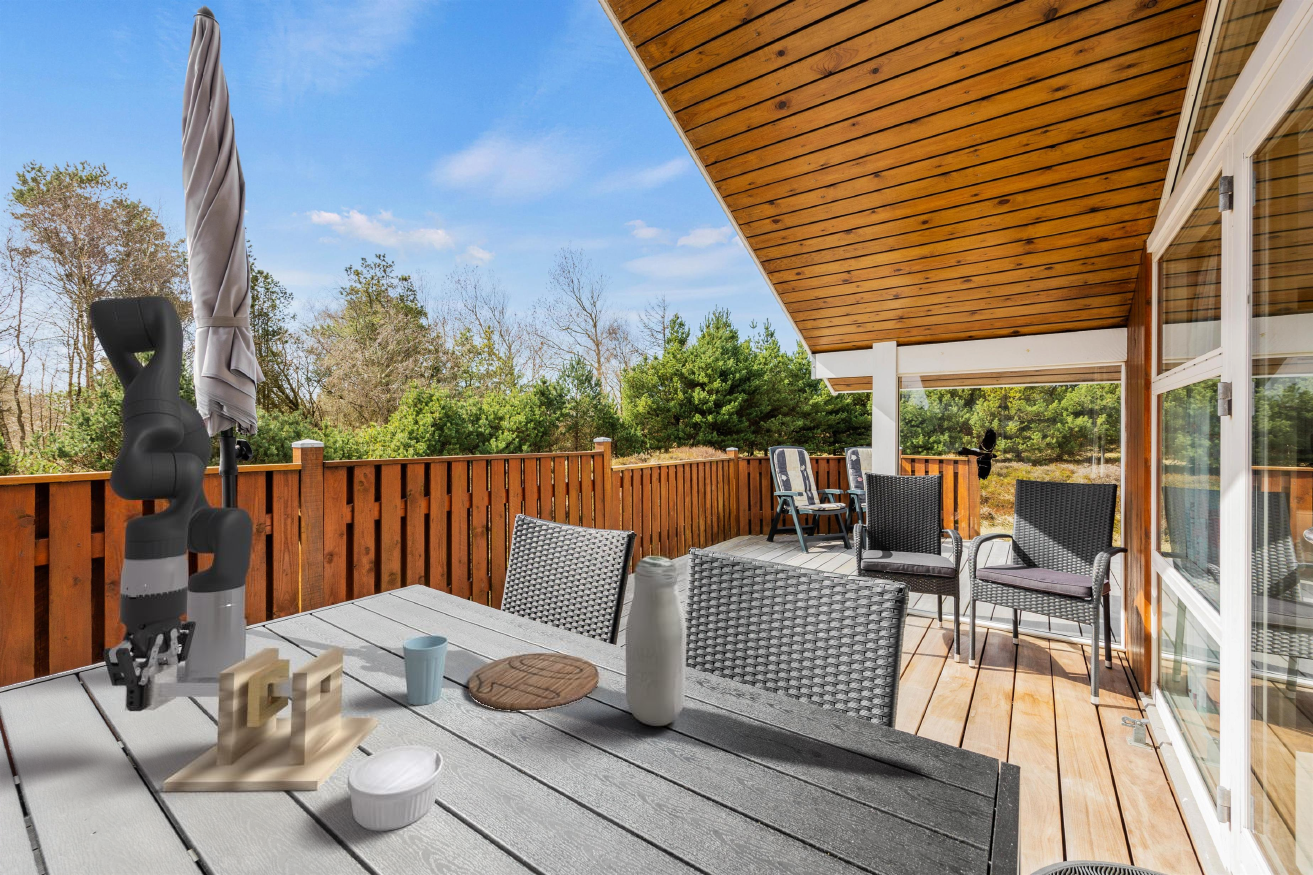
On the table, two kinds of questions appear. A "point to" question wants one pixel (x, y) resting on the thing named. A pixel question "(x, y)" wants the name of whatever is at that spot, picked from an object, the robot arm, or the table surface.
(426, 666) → the cup
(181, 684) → the shaft
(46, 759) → the table surface
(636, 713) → the glass bottle
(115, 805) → the table surface
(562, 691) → the trivet
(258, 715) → the spacer ring
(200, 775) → the bracket
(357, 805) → the ramekin
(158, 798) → the table surface
